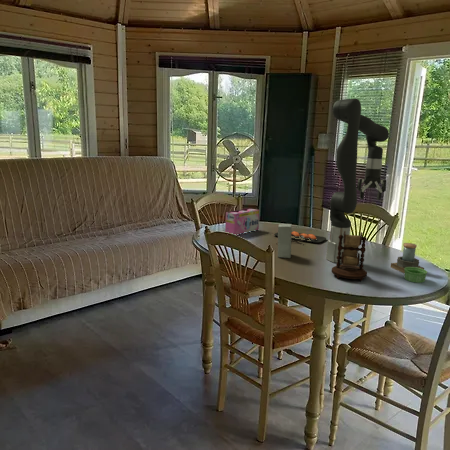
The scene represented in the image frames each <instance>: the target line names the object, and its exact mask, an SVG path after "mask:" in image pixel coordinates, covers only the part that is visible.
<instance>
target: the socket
mask: <svg viewBox="0 0 450 450" xmlns="http://www.w3.org/2000/svg"><path fill="white" fill-rule="evenodd" d="M402 257H403V255H402V256H397V259H396V262H391V263H390V268H392V269H393V270H395V271H398V272H400V273H402V274H405V271H404V268H406V267H417V268H421V269H424V270H425V267H422V266H420V259H418V258H414V262H409V261H404V260H402Z"/></svg>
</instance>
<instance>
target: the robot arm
mask: <svg viewBox="0 0 450 450" xmlns="http://www.w3.org/2000/svg"><path fill="white" fill-rule="evenodd" d="M332 115H333V117H334V118H335V119H336V120H337V121H340V122H343V123H345V124H347V127H346V132H345V135H344V137H343V138H342V140H341V141H340V142H339V144H338V146H337V149H336V154H335V164H336V169H337V171H338V173H339V175H340V178H341V180H342V184H343V191H336V192H334V193H333V194H332V196H331V198H330V203H329V204H330V205H329V219H330V230H329V239H328V240H327V243H326V244H327V245H326V247H327V248H326V254H325V255H326V256H325V260H328V261H330V263H333V264H334V263H336V264H337V262H338V261H337V256H338V245H339V244H338V243H339V235H343V237H344V231H345V232H346V234H345V235H351V227H352V221H351V220H350V219H349V218H348V217H347V216H346V215H345V214H352V213H354V212H355V210H356V208H357V205H358V204H357V203H358V194H357V193H358V192H357V191H359V198H360V200H364V196H365V190H366V189H368V188H369V189H370V188H374V189H376V190H377V193H376V195H377V196H376V200H378V201H379V200H381V199H382V193H385V192H386V191H387V179H381V175H382V166H383V154H384V148H383V147H382V146H377V143H378V142H379V143H382V142H386V141H388V139H389V136H390V132H389V130H388V128H387V127H385V126H384V125H382V124H380V123H376V122H375V121H374V120H372V119H371V118H369V116H366V115H363V114H362V104H361V101H360V100H359V99H358V98H344V99H343V98H342V99H339V100H336V101H335V102H334V104H333V107H332ZM359 132H361V133H362V134H363V135H365V139H366V144H367V159H366V163H365V172H364V178H358V180H357V165H358V141H359ZM376 142H377V143H376ZM363 183H364V184H363ZM362 184H363V185H362ZM380 184H381V186H380ZM341 246H343V247H344V243H343V239H342V245H341ZM343 251H344V249H342V250H341V255H342V252H343ZM341 255H340V256H341ZM340 264H341V260H340Z"/></svg>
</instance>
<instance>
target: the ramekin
mask: <svg viewBox="0 0 450 450" xmlns="http://www.w3.org/2000/svg"><path fill="white" fill-rule="evenodd" d="M404 271H405V273H404V274H403V275H404V276H403V277H404V280H406V281H408V282H411V283H416V284H417V283H418V284H420V283H421V284H422V283H425V282H426V278H427V274H428V271H427V269H425V268H424V269H421V268H417V267H406V268H404Z"/></svg>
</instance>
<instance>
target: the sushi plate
mask: <svg viewBox="0 0 450 450" xmlns="http://www.w3.org/2000/svg"><path fill="white" fill-rule="evenodd" d="M273 235H274V236H276V237H278V231H277V232H275V233H274V234H273ZM291 236H294V237H295V238H299V236H300V237H301V238H303V239H305V240H301V239H295V238H291V243H297V244H299V243H300V244H299V245H301V244H303V245H302V246H304V245H305V244H304V243H302V242H306V241H307V240H309V239H310V240H311V241H307V242H308V243H312V242H313V244H314V243H315V244H316V243H317V244H320V243H323V242H324V241H325V240H327V237H326V236H320V235H315V234H313V233H310V234H307V233H303V232H298V231H295V230H294V231H291ZM308 238H309V239H308ZM316 239H317V240H316ZM301 241H302V242H301Z"/></svg>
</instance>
